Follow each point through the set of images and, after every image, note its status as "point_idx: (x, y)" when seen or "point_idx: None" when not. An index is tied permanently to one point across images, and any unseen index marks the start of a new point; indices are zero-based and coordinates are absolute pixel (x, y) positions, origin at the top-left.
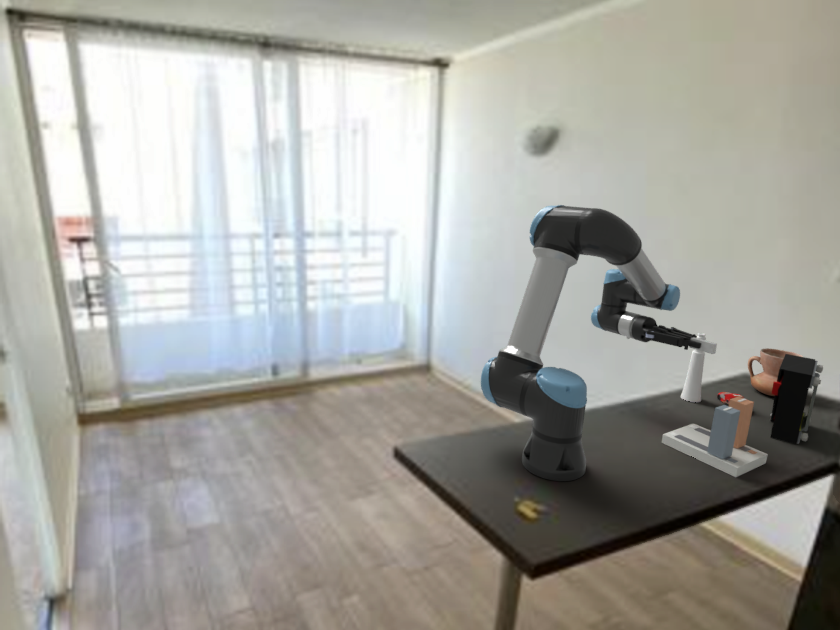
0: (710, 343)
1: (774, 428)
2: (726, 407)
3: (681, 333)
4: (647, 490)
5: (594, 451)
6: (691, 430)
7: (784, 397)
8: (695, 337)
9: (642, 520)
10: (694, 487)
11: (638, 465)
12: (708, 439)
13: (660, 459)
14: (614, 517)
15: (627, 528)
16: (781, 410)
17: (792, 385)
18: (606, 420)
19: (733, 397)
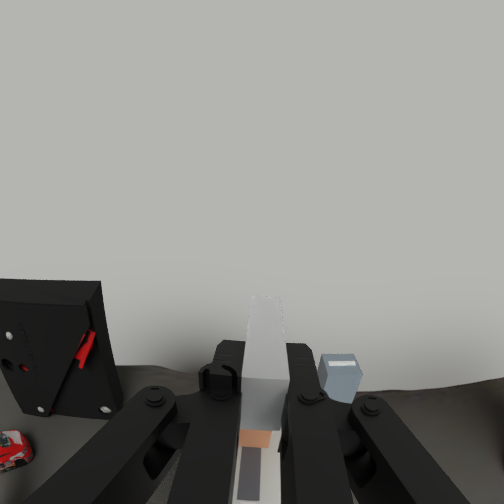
0: (280, 305)
1: (116, 405)
2: (336, 368)
3: (176, 497)
4: (456, 420)
5: (481, 500)
6: (269, 501)
7: (103, 350)
8: (168, 396)
9: (475, 388)
10: (400, 414)
11: (440, 464)
12: (278, 466)
13: None
14: (494, 393)
15: (488, 383)
16: (108, 373)
17: (99, 320)
18: None
19: (1, 450)
